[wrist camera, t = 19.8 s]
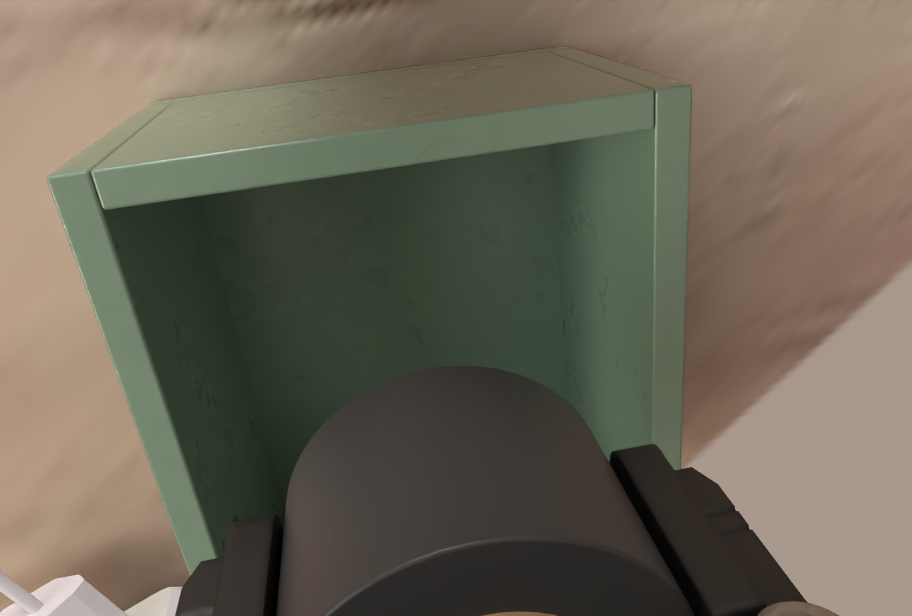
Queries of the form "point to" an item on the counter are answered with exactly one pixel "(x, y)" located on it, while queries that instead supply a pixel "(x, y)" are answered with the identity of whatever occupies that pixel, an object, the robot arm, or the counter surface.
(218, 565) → the robot arm
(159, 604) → the charger
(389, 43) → the counter surface
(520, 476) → the tape
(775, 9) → the counter surface
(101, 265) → the bin
